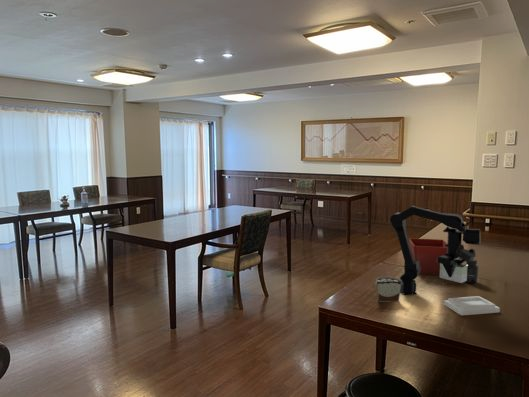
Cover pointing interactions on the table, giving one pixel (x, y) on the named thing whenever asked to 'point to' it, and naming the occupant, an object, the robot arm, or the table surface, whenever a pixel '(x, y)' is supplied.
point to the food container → (388, 289)
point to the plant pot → (428, 254)
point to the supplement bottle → (472, 272)
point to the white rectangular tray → (471, 305)
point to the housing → (455, 273)
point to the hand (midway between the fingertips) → (453, 275)
